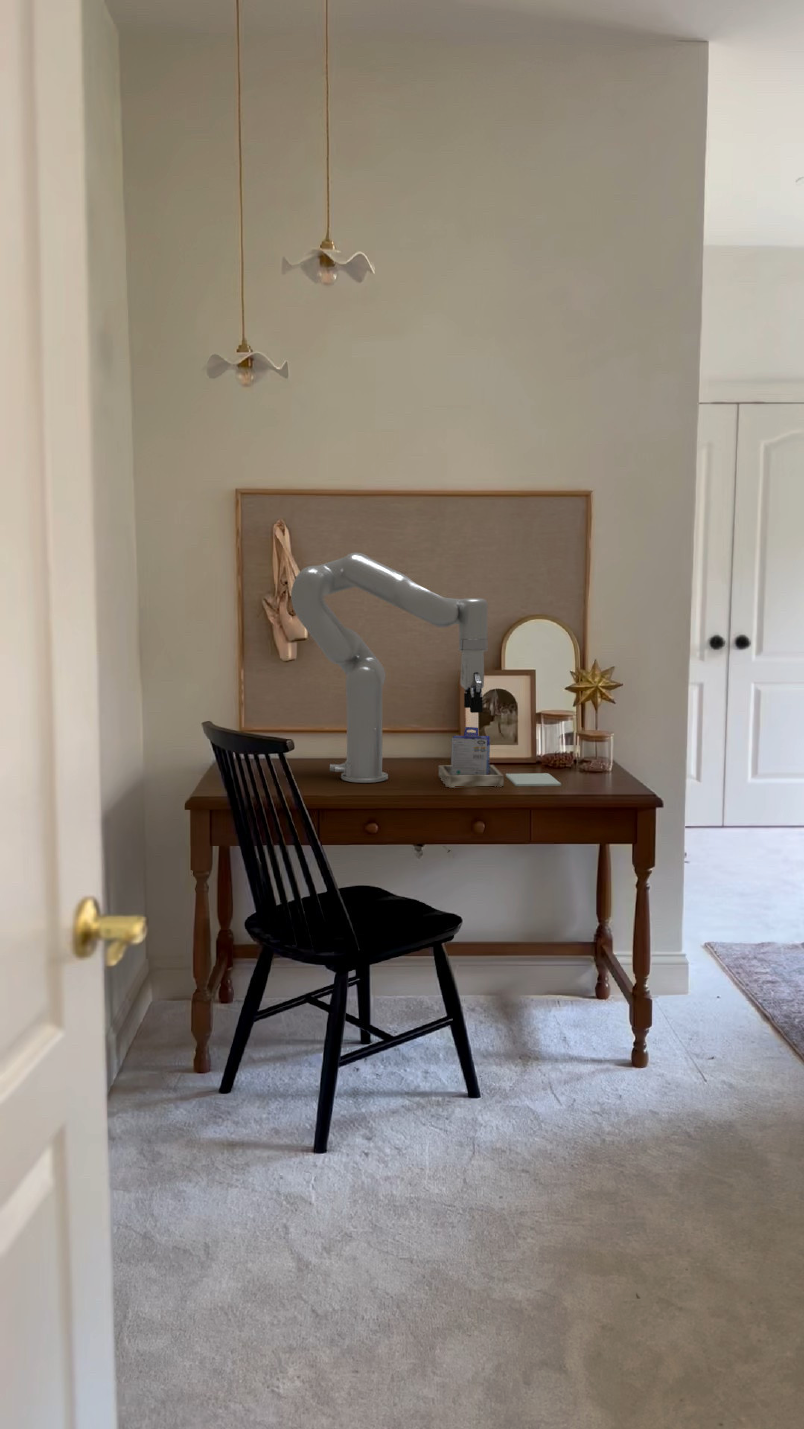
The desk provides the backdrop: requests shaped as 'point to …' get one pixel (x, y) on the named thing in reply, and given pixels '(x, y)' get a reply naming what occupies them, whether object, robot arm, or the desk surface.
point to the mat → (533, 779)
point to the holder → (470, 778)
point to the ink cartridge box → (470, 753)
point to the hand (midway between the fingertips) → (473, 710)
